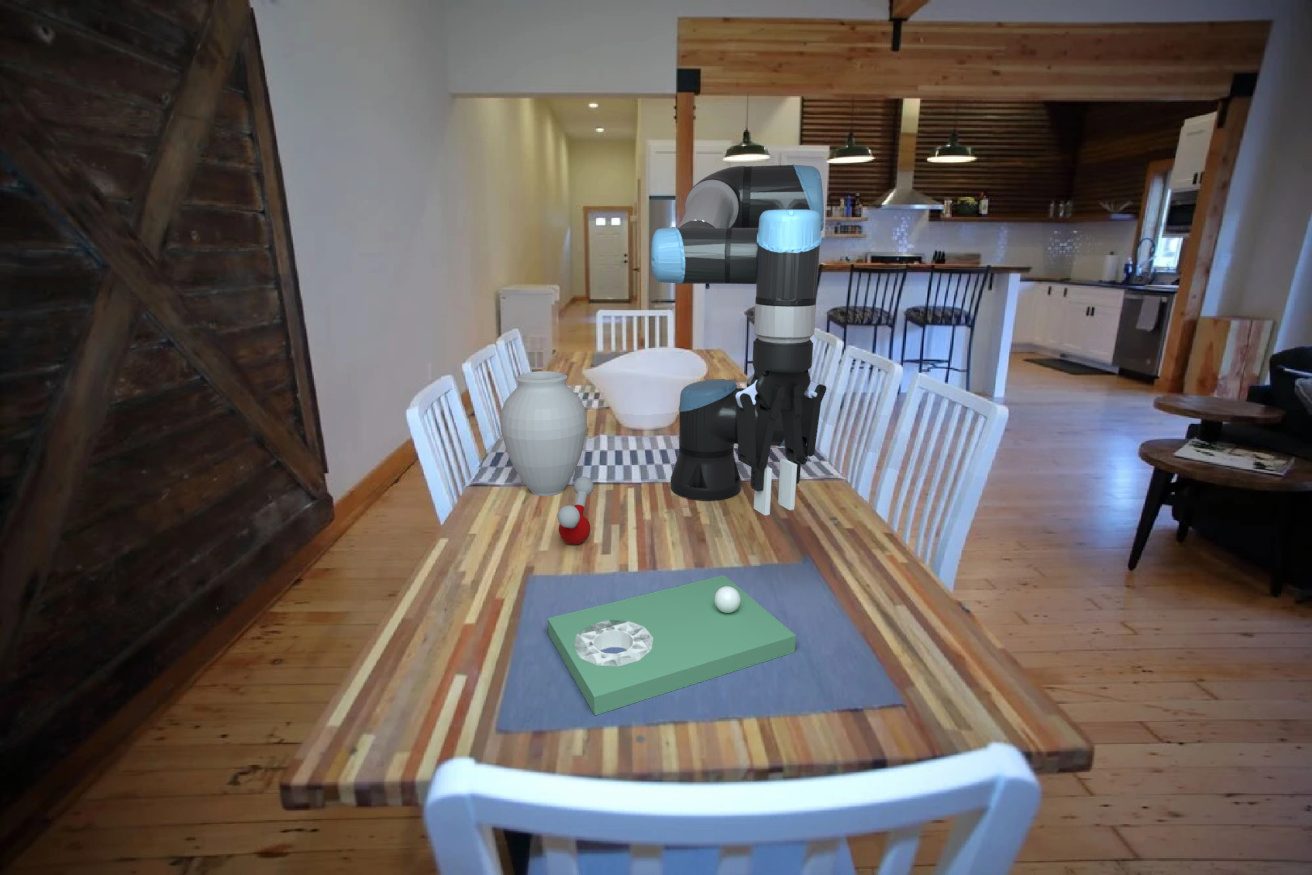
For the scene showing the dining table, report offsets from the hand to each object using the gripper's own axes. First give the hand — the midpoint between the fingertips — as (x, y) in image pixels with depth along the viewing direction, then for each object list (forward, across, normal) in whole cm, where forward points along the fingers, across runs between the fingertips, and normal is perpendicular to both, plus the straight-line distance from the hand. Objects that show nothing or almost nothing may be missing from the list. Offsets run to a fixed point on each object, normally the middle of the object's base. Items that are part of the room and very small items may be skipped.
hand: (773, 508), depth 92 cm
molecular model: (+17, +17, -35) cm, 42 cm away
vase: (+17, +14, -62) cm, 65 cm away
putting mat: (+17, +16, 0) cm, 23 cm away
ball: (+12, +7, 0) cm, 14 cm away
